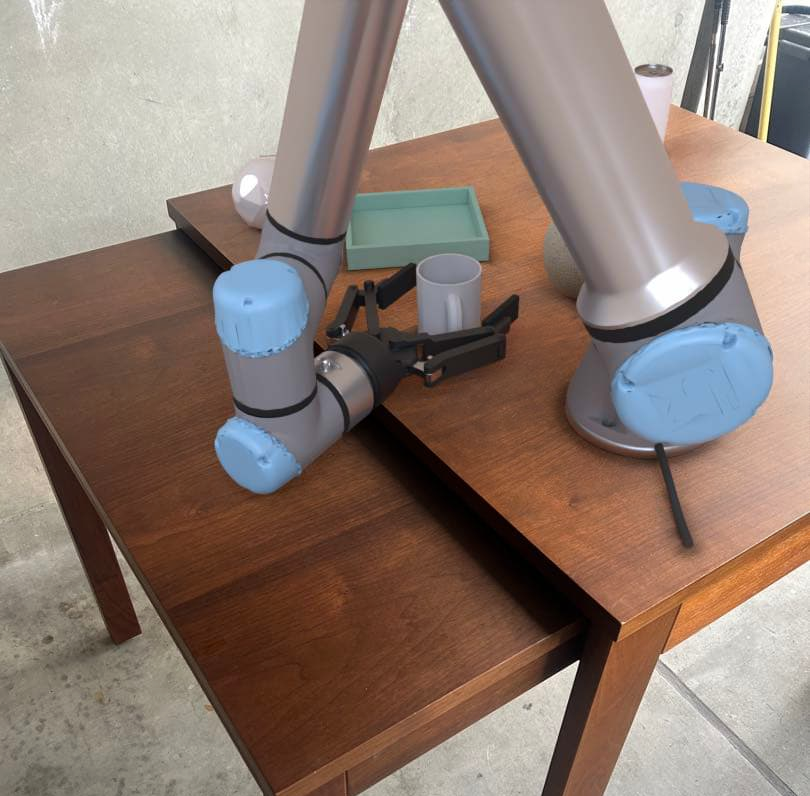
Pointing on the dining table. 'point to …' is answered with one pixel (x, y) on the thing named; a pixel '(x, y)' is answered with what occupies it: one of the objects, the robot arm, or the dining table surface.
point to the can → (656, 92)
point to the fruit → (560, 264)
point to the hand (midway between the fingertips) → (463, 289)
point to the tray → (415, 227)
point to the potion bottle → (253, 189)
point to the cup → (448, 293)
